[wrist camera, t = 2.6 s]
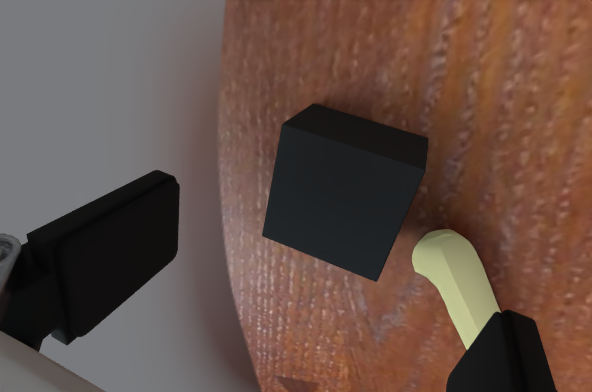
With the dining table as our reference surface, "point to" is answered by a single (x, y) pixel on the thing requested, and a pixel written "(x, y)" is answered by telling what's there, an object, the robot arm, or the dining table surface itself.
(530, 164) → the dining table surface
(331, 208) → the loose pad
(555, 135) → the dining table surface
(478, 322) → the knife
